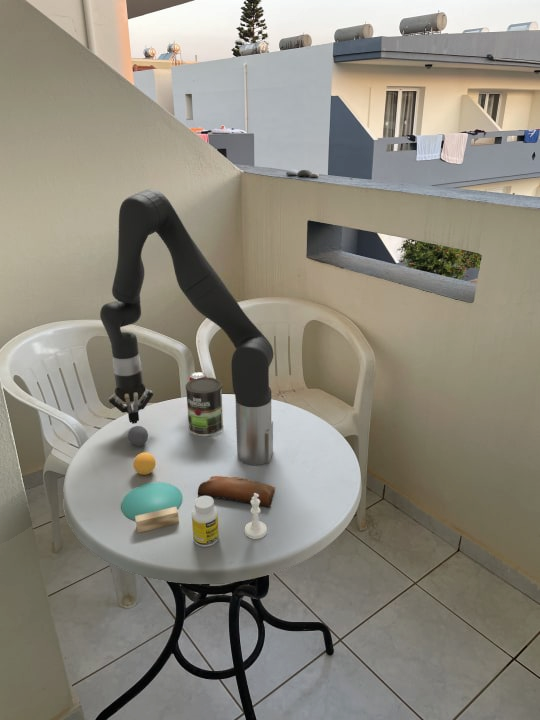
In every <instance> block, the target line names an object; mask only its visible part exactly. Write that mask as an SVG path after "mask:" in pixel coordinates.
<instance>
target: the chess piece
mask: <svg viewBox="0 0 540 720" xmlns="http://www.w3.org/2000/svg"><path fill="white" fill-rule="evenodd" d="M257 497H259V495H258V494H256V493H254V496H253V497H252V500H251V503H250V504H251V508H250V513H251V514H252V521H249V522H248V523H246V525H245V527H244V534H245V536H246V537H247V538H250V539H253V540H259V539H262V538H264V537H265V536H266V534H267V533H268V527H267V525H266V524H265V523H264V522H262V521H260V518H259V514H260V513H261V512H262V511H261V508H260V507H259V506H260V505H259V504H260V500H259V499H257Z"/></svg>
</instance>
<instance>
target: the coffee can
mask: <svg viewBox="0 0 540 720" xmlns="http://www.w3.org/2000/svg"><path fill="white" fill-rule="evenodd" d="M222 387H223V383H222V381H220V380H219V379H217V378H214V377H207V376H206V377H203V378H196V379H193V380H191V381H190V380H189V381H188V382H187V383H186V384H185V390H186V405H187V406H186V407H187V417H188V418H187V419H188V421H187V422H188V431H189V432H190V434H192V435H194V436H196V437H197V436H198V437H210V436H211V437H212V436H214V435H217V434H219V433H220V432H222V430H223V429H224V420H223V419H224V418H223V390H222Z"/></svg>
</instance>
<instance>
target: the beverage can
mask: <svg viewBox="0 0 540 720" xmlns="http://www.w3.org/2000/svg"><path fill="white" fill-rule="evenodd" d="M203 377H207V375H206V373H204V372H201V371H200V372H199V371H198V372H197V371H195V372H193V373H190V376H189V381H191V380H193V379H196V378H203Z"/></svg>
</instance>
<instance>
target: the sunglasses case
mask: <svg viewBox="0 0 540 720" xmlns="http://www.w3.org/2000/svg"><path fill="white" fill-rule="evenodd" d="M275 492H276V487H275V486H273V485H271V484H267V483H264V482H263V483H262V482H259V481H252V480H249V479H248V478H246V477H245V478H244V477H240V476H222V475H220V476H219V475H215V476H214V475H212V476H211V477H209V479H208V480H206V481H204V482H203V481H202V482H201V483H200V484H199V486H198V489H197V496H198V497H201V496H210V497H212V498H213V499H214V498H216V499H225V500H228V501H229V500H230V501H236V502H242V503H247V504H251V500H252V497H253V496H254V493H256V494H258V495H259V497H257V499H259V500H260V504H259V506H265V507H269V508H270V507H271V505H272V502H273V499H274V497H275Z"/></svg>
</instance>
